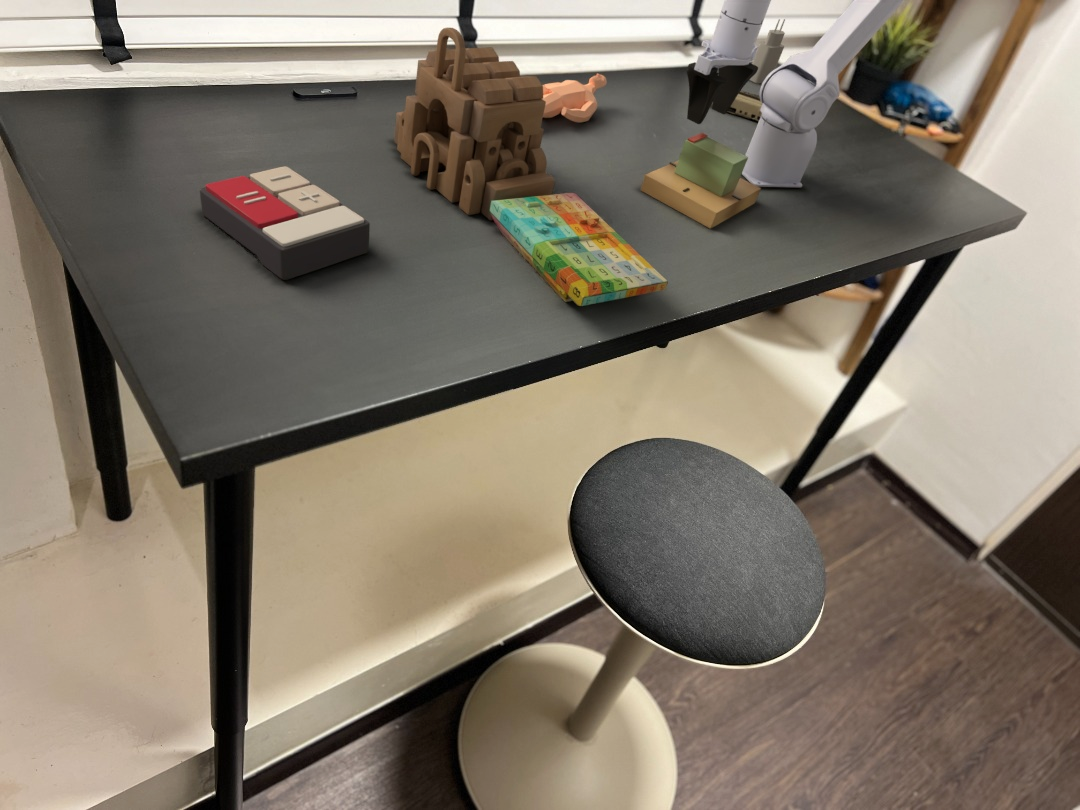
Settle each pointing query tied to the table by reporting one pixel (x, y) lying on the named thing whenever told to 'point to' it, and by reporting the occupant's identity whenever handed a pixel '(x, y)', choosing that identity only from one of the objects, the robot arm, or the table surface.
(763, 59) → the power adapter
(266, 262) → the calculator
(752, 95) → the computer
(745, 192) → the tan flat block
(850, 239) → the table surface
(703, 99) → the robot arm
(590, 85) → the male figurine
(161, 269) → the table surface
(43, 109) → the table surface
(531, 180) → the wooden puzzle
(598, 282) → the puzzle game
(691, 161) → the box
